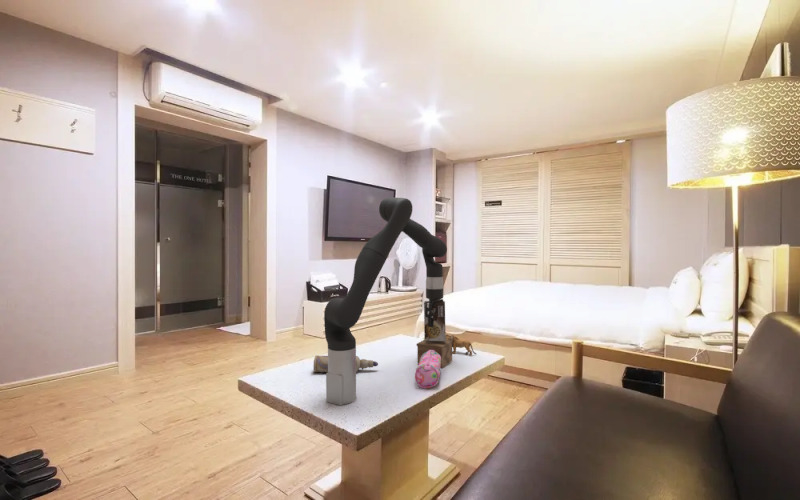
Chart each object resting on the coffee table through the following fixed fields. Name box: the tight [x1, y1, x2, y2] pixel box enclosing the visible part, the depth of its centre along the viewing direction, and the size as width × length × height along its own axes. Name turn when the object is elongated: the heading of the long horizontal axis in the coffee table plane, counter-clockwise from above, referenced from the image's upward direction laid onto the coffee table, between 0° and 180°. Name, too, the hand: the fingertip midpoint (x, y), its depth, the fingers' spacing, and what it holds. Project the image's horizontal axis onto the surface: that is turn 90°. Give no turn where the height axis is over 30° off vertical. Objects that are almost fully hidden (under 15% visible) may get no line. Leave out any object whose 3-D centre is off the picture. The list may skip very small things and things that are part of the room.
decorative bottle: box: [313, 355, 379, 373], centre depth 150 cm, size 26×8×7 cm, turn 90°
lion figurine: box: [446, 333, 477, 357], centre depth 173 cm, size 15×5×9 cm, turn 71°
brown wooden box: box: [416, 339, 453, 370], centre depth 160 cm, size 13×12×9 cm
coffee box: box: [423, 300, 447, 341], centre depth 160 cm, size 9×6×16 cm
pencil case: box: [414, 350, 441, 389], centre depth 141 cm, size 21×9×9 cm, turn 170°
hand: (434, 325), depth 160 cm, fingers closed on coffee box, 8 cm apart
